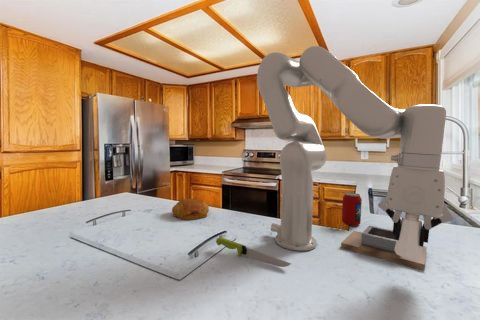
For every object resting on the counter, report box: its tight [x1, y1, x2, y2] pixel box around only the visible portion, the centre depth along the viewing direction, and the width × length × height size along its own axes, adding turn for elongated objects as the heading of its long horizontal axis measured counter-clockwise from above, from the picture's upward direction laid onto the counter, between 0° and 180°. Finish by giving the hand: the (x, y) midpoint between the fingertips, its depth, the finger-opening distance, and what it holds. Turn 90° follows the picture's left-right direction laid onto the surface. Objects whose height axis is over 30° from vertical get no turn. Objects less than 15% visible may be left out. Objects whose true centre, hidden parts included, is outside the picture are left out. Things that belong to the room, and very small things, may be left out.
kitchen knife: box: [215, 237, 292, 268], centre depth 64 cm, size 22×1×3 cm, turn 60°
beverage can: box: [341, 192, 363, 227], centre depth 95 cm, size 7×7×12 cm
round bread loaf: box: [171, 198, 210, 221], centre depth 102 cm, size 14×16×8 cm
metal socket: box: [361, 225, 397, 254], centre depth 71 cm, size 10×10×4 cm
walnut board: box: [340, 230, 428, 271], centre depth 72 cm, size 20×14×2 cm
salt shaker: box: [394, 212, 423, 260], centre depth 55 cm, size 5×5×11 cm
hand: (409, 240), depth 55 cm, fingers closed on salt shaker, 3 cm apart
